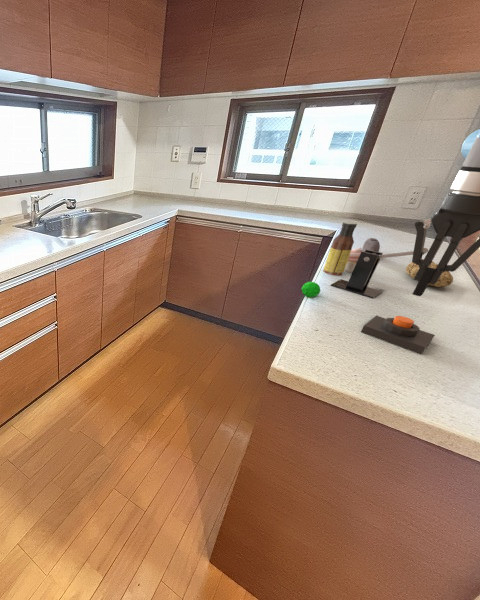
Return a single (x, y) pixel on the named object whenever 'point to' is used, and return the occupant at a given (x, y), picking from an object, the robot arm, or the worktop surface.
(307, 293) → the green bumpy ball
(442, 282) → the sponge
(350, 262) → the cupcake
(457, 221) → the robot arm
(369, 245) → the perforated stone tool
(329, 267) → the sauce bottle
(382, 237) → the worktop surface
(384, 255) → the lever
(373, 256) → the bracket
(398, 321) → the button
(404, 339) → the button block
